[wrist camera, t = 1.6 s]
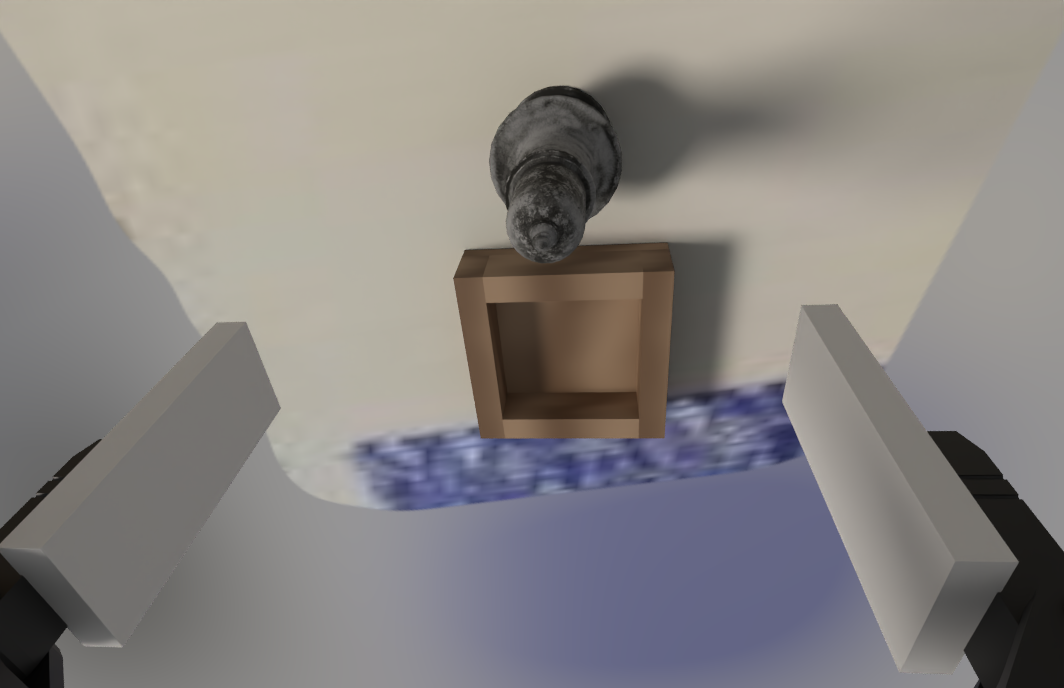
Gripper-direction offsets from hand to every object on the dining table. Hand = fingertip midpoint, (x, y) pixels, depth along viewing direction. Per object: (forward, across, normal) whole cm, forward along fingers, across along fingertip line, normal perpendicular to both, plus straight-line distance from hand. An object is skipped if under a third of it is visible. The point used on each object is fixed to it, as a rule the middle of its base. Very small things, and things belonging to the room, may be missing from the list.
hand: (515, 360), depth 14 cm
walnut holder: (+18, 0, -11) cm, 21 cm away
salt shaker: (+18, 0, 0) cm, 18 cm away
